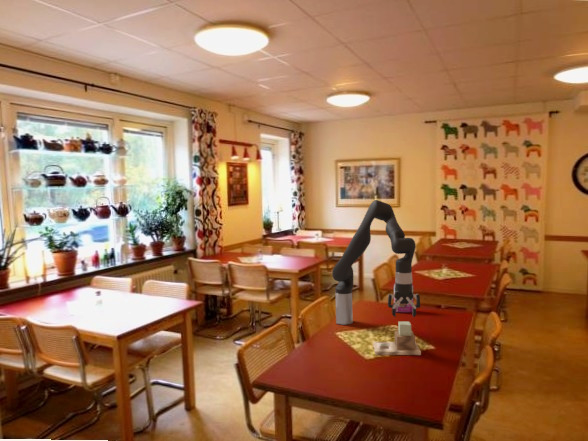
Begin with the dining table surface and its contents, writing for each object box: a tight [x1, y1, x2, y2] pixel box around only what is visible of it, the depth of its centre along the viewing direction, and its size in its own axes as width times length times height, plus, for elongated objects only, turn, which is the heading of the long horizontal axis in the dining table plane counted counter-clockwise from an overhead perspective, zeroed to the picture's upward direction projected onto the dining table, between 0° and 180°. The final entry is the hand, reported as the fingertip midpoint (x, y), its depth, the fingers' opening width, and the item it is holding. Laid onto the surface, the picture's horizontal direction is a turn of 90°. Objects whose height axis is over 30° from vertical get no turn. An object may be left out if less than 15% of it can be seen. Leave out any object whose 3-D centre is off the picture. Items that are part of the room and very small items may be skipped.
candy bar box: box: [393, 283, 415, 314], centre depth 249 cm, size 11×5×16 cm, turn 84°
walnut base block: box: [394, 330, 416, 350], centre depth 191 cm, size 8×8×6 cm
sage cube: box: [397, 321, 412, 336], centre depth 190 cm, size 5×5×5 cm
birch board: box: [372, 341, 422, 356], centre depth 191 cm, size 20×12×2 cm, turn 84°
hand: (404, 316), depth 190 cm, fingers open, 8 cm apart
